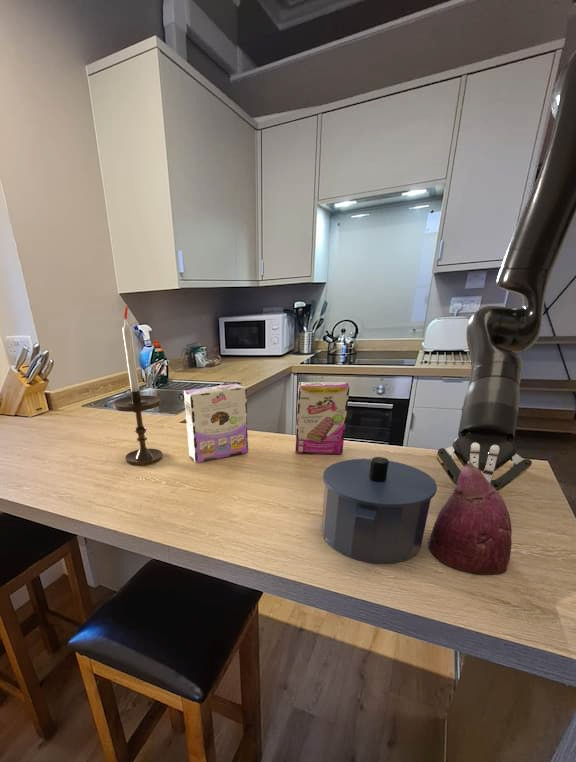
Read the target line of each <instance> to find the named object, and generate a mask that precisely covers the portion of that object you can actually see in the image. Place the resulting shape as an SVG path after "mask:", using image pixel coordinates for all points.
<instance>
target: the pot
mask: <svg viewBox="0 0 576 762" xmlns="http://www.w3.org/2000/svg"><path fill="white" fill-rule="evenodd" d="M323 489H324V490H323V499H322V500H323V503H322V515H321V527H320V528H321V535H322V537H323V539H324V541H325V542H326V543H327V545H328V546H329V547H331V548H332V549H333V550H335V551H336V552H338V553H339V554H341V555H343V556H344V557H345V556H346V557H347V558H350V559H353V560H356V561H360V562H364V563H369V564H377V565H378V564H380V565H390V564H398V563H402V562H405V561H409V560H410V559H412V558H414V557H415V556H416V555H417V554H418V553H419V552H420V550H421V548H422V543H423V539H424V533H425V529H426V524H427V519H428V515H429V511H430V505H431V502H432V501H431V500H432V498H431V499H430V500H428V501H427V502H424V503H422V504H418V505H414V506H408V507H379V506H372V505H366V504H361V503H357V502H354V501H351V500H348V499H345V498H343V497H341V496H339V495H337V494H335V493H333V492H332V491H331V490H329V489H328V488H327V487H326V485H325V484H324V488H323Z"/></svg>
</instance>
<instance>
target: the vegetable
mask: <svg viewBox="0 0 576 762" xmlns="http://www.w3.org/2000/svg"><path fill="white" fill-rule="evenodd" d="M460 470H461V472H460V475H459V478H458V481H457V485H455V487H454V489H453V490H452V493H451V495H450V496H449V498H448V499H447V500H446V502H445V503H444V504H443V506H442V507H441V509H440V511H439V512H438V515H437V517H436V519H435V522H434V524H433V527H432V530H431V532H430V538H429V541H428V549H429V551H430V553H432V555H434V556H435V558H437V559H438V560H439V561H440V562H441V563H443V564H445V565H446V566H449V567H451V568H453V569H457V570H460V571H463V572H467V573H471V574H476V575H499V574H502V573H505V572H506V571H507V569H508V566H509V563H510V560H511V553H512V535H513V534H512V533H513V532H512V531H513V530H512V521H511V516H510V514H509V510H508V508H507V505H506V503H505V500H504V499H503V496H502V495H501V494H500V493H499V491H497V490H496V489H495V488H494V487H493V486H492V485H491V484H490V483H489V482H488V480H487V479H486V478H485V477H484V476H483V474H482V473H481V472H482V471H480V470H479V469H478V468H476V467H475V466H473V464H472V463H471V461H468V463H467V464H466V465H465V466H463V467H462V469H460Z"/></svg>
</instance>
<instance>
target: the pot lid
mask: <svg viewBox="0 0 576 762" xmlns="http://www.w3.org/2000/svg"><path fill="white" fill-rule="evenodd" d="M322 482H323V484H324V486H325V485H326V487H327V488H328V489H329V490H331V491H332V492H333V493H335V494H337V495H339V496H341V497H343V498H345V499H348V500H351V501H354V502H357V503H361V504H366V505H372V506H379V507H408V506H414V505H418V504H422V503H424V502H427V501H428V500H430V499H431V500H432V498H434V497H435V495H436V494H437V489H438V485H437V483H436V481H435V479H434V478H433V477H432V476H430V475H429V473H426V472H424V471H423V470H421V469H419V468H417V467H414V466H412V465H408V464H405V463H402V462H398V461H394V460H393V461H391V460H389V459H388V458H386V457H384V456H383V457H382V456H374V457H372V458H354V459H347V460H341V461H338V462H335V463H333V464H331V465H329V466H328V467H326V468H325V470H324V471H323V473H322Z"/></svg>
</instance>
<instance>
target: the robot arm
mask: <svg viewBox="0 0 576 762" xmlns="http://www.w3.org/2000/svg"><path fill="white" fill-rule="evenodd" d="M550 110H551V114H552V116H553V118H554V123H553V126H552V131H551V136H550V140H549V144H548V147H547V150H546V152H545V156H544V159H543V162H542V164H541V168H540V170H539V173H538V175H537V178H536V180H535V183H534V185H533V188H532V189H531V192H530V194H529V197H528V199H527V201H526V203H525V205H524V207H523V210H522V212H521V214H520V216H519V219H518V221H517V223H516V226H515V227H514V230H513V233H512V235H511V238H510V241H509V243H508V246H507V248H506V252H505V254H504V258H503V260H502V262H501V265H500V266H501V267H500V268H499V271H498V275H497V277H496V282H495V283H496V287H497V288H498V289H500V290H503V291H506V292H510V293H514V294H517V295H518V296H519V297H521V298H522V306H521V307H514V306H500V305H486V306H483V307H480V308H479V309H478V310H477V311H475V312H474V313H473V314H472V315H471V317H470V319H469V320H468V323H467V326H466V333H465V334H466V344H467V349H468V352H469V353H468V354H469V359H470V365H471V366H470V367H471V370H470V376H469V380H468V386H467V390H466V393H465V396H464V399H463V405H462V407H461V416H460V421H459V427H458V432H457V437H456V439H454V441H453V442H452V445H451V446H449V447H447V448H443V447H442V448H439V449H437V453H436V460H437V462H438V464H439V465H440V466H441V468H442V469H443V470H444V472H445V473H446V474H447V476H448V478H449V479H450V480H451V482H452V483H453V484H454V485H455V486H456V485H457V481H458V478H459V475H460V472H461V470H462V469H460V468H459V466H458V465H457V464H456V462H455V461H454V458H455V456H456V458H457V459H458V461H459V462H460V464H461V465H462V466H463V467H464V466H465V465H466V464H467V463H468V461H471V463H472V464H473V466H475V467H476V468H478V469H479V470H480V472H481V473H482V474H483V476H484V477H485V478H486V479H487V480H488V482H489V483H490V484H491V485H492V486H493V487H494V488H495V489H496V490H497V492H500V491H501V490H502V489H504V488H505V487H506V486H507V485H509V484H510V483H512V482H513V481H514V480H516V479H517V478H519V477H520V476H521V475H523V474H525V472H527V471H528V470H529V468H530V467H531V466H532V465H533V461H532V460H531V459H529V458H523V457H521V455H519V454H518V453H517V452H518V449H517V446H516V445H515V436H516V428H517V421H518V414H519V407H520V400H521V398H520V388H521V387H520V385H521V380H522V372H523V359H522V357H521V356H520V355H519V354H517V353H522V352H524V351H526V350H528V349H530V348H531V347H532V346H533V345H534V344H535V343H536V342H537V341H538V339H539V337H540V335H541V332H542V327H543V319H544V318H543V317H544V309H545V307H544V306H545V299H546V294H547V289H548V285H549V282H550V278H551V276H552V274H553V271H554V268H555V266H556V264H557V262H558V259H559V256H560V255H561V252H562V250H563V247H564V244H565V242H566V241H567V237H568V235H569V232H570V230H571V227H572V225H573V222H574V220H575V217H576V49H575V50H574V51H573V52H572V54H571V55H570V56H569V58H568V59H567V62H565V65H564V66H563V68H562V70H561V72H560V73H559V76H558V78H557V79H556V81H555V84H554V86H553V89H552V93H551V97H550ZM509 461H510V463H509ZM507 463H509V465H508V469H509V470H507V471H505V473H503V474H502V475H500V476H499V477H498V478H496V479H492V478H493V475H494V473H495V472H496V471H498V470H499V469H501V467H503V466H504V465H505V464H507Z"/></svg>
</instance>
